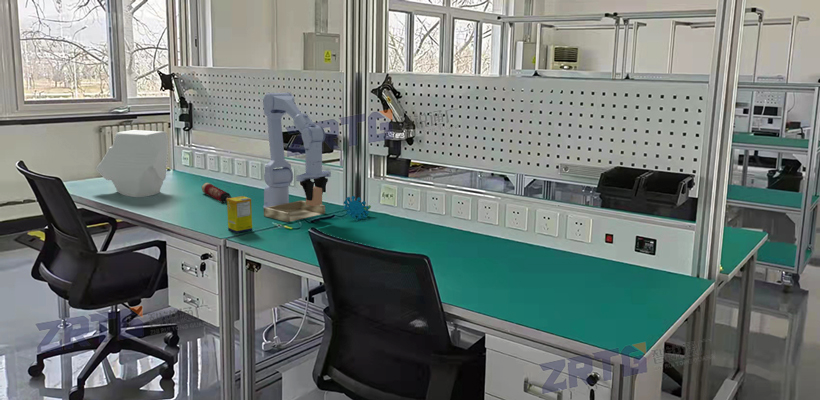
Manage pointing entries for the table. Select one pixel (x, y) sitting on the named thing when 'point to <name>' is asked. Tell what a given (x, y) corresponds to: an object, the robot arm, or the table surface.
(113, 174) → the white low-poly rock
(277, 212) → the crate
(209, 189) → the red cylinder
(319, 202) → the block
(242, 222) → the supplement box
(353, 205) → the gear
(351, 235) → the table surface
